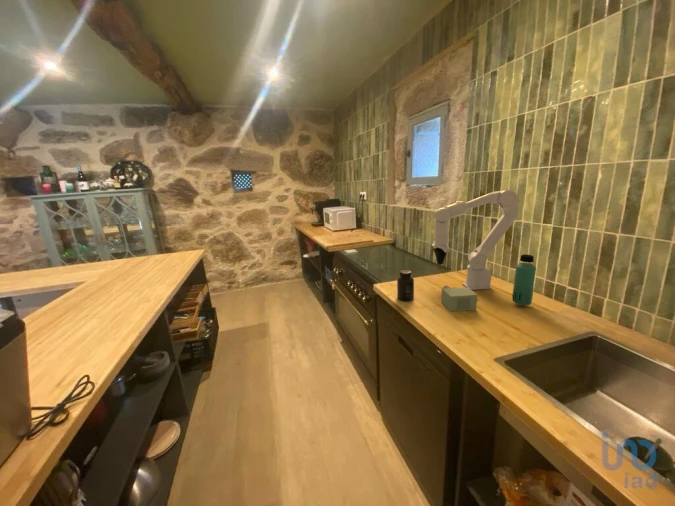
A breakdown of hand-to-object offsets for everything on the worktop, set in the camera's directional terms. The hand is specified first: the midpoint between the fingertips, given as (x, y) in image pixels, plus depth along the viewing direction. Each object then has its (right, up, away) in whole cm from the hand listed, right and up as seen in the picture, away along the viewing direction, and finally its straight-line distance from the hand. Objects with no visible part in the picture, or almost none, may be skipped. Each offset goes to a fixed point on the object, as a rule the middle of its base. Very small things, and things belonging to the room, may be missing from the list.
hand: (439, 263), depth 129 cm
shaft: (-1, -15, -17) cm, 22 cm away
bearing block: (-1, -16, -21) cm, 26 cm away
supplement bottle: (-19, -14, -12) cm, 26 cm away
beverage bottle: (+23, -15, -23) cm, 36 cm away
